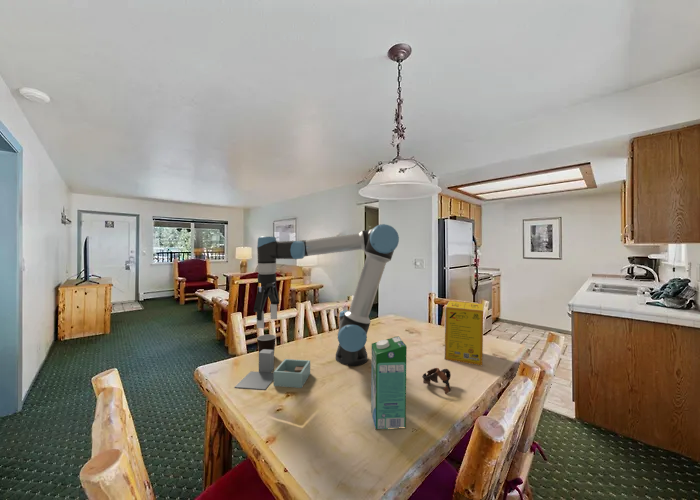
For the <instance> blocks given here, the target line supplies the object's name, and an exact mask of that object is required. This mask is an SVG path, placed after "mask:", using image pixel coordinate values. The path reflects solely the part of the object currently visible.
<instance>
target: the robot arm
mask: <svg viewBox="0 0 700 500" xmlns="http://www.w3.org/2000/svg"><path fill="white" fill-rule="evenodd" d="M399 241H400V237H399V234H398V232H397V230H396V228H394V227H393V226H392V225H389V224H385V223H382V224H378V225H376V226H374V227H373V228H370V229H366V230H361V231H360V232H359V233H351V234H344V235H336V236H328V237H317V238H312V239H304V240H287V241H286V240H285V241H283V240H282V241H279V240H277V239H276V236H258V238H257V246H256V250H257V251H256V252H257V265H256V268H257V273H258V274H257V283H259V284H261V286H257V288H256V296H255V301H254V306H253V312H254V313H256V329H264V328H265V311H264V308H265V305H266V302H267V299H269V301H270V303H271V304H269V305H270V306H269V307H270V308H269V309H270V320H277V319H278V305H279V304H280V299H279V294H278V290H277V289H278V288H277V260H302V259H304V258H305V257H309V256H319V255H327V254H335V253H336V254H337V253H342V252H343V253H345V252H352V251H359V250H360V251H361V250H362V251H363V252H364V254H365V255H366V258H365V260H364V264H363V266H362V270H361V273H360V276H359V279H358V282H357V286H356V289H355V291H354V294H353V298H352V300H351V303H350V307H349V310H347V309H346V310H341V311H340V312H339V316H338V319H339V321H338V322H339V323H338V324H339V326H338V332H337V341H338V345H337V346H338V347H337V349H336V353H335V361H336V362H337V363H339V364H342V365H346V366H348V367H356V366H362V365H364V364H366V363H367V362H368V358H369V357H368V351H367V349H366V343H367V340H368V339H367V338H368V336H367V335H368V331H369V328H370V325H371V319H370V317H369V316H370V313H371V312H372V311H371V310H372V307H373V304H374V301H375V298H376V295H377V292H378V289H379V286H380V282H381V280H382V276H383V274H384V271H385V267H386V265H387V263H389V262H390V261H391V260H392V258H393V256H394V251H395V250H396V249H397V247H398V245H399Z"/></svg>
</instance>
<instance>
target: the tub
mask: <svg viewBox="0 0 700 500" xmlns="http://www.w3.org/2000/svg"><path fill="white" fill-rule="evenodd" d="M296 366H304V368H303V369H302V371H301V372H300V373H299V372H295V368H296ZM284 371H289V372H284ZM273 373H274V380H273V386H274V387H280V388H281V387H283V388H284V387H285V388H297V389H302V388H303V386H304V385H305V383H306V382H307V380H308V378H309V376H310V375H311V360H309V359H307V360H305V359H290V358H285V359H284V360H283V361H281V363H280V364H279V365H278V366H277V367H276V368H275V369H274V370H273Z"/></svg>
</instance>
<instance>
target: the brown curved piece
mask: <svg viewBox="0 0 700 500" xmlns="http://www.w3.org/2000/svg"><path fill="white" fill-rule="evenodd" d="M451 375H452V374H451V371H450V370H449V369H448V368H444V369H443V368H442V369H441V370H440V368H439V367H434V368H431V369H429V370H428V371H426V372H425V373H423V374H422V378H423V380H422V382H423V384H427V385H429V386H430V385H431V381H432V382H433V383H436V384H437V383H439V380H438V378H439V379H440V380H441V381H442V383H443V384H444V385H445V386H444V387H443V389H442V390H443V391H444V394H445V395H448V394H449V393H450V392H451V391H452V389H451V386H450V382H449V381H450V379H451ZM447 393H448V394H447Z"/></svg>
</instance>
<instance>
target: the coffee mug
mask: <svg viewBox="0 0 700 500" xmlns="http://www.w3.org/2000/svg"><path fill="white" fill-rule="evenodd" d="M256 339H257V341H256V342H257V347H258V348H257V349H258V353H259V352H260V351H261V350H263V349H267V350H274V351H275V349H276V348H275V347H276V341H277V336H276V335H275V334H262V335H259V336H257V337H256Z"/></svg>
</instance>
